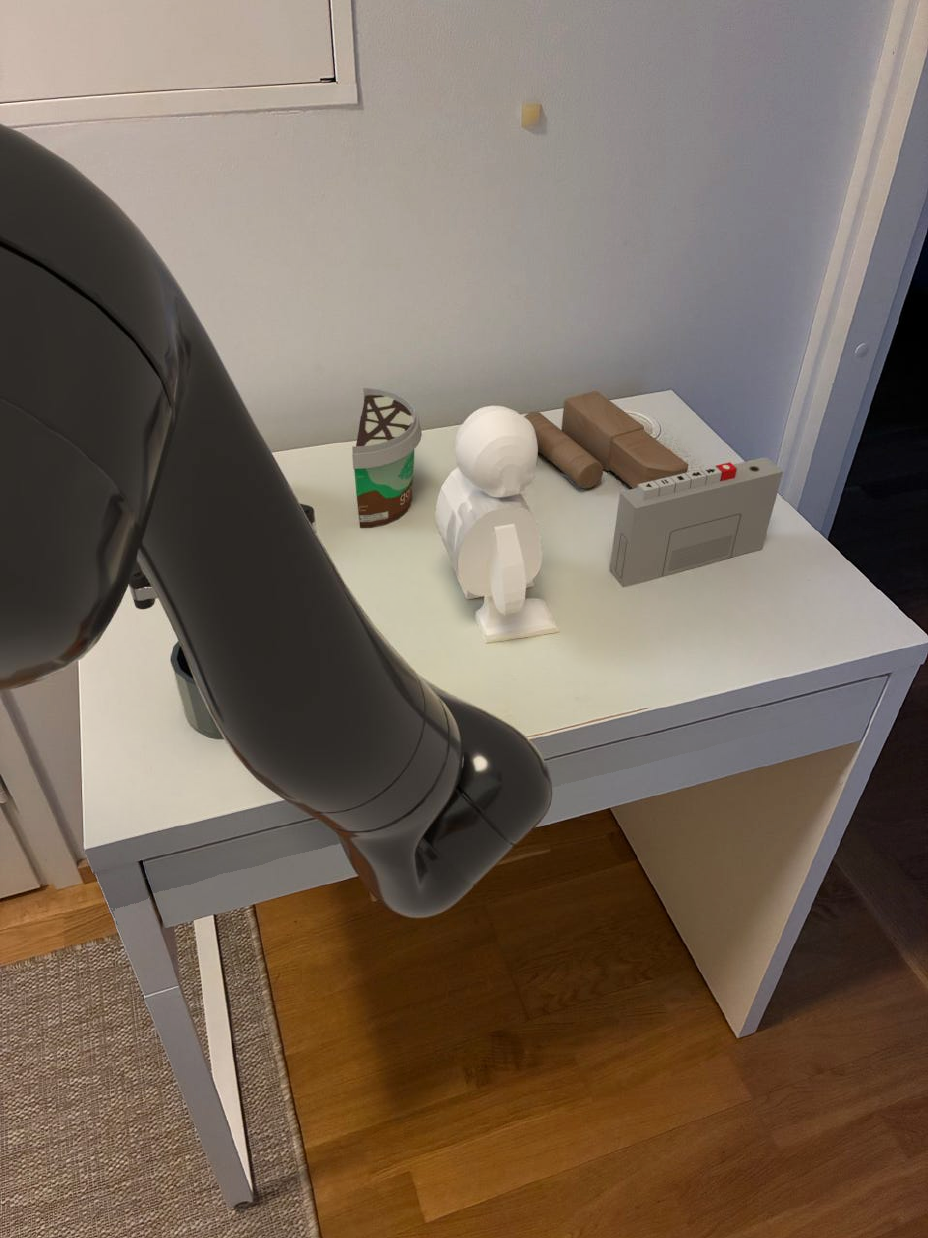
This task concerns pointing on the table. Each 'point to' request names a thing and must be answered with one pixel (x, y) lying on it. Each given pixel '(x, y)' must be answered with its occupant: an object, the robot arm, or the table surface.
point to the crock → (192, 696)
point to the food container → (385, 457)
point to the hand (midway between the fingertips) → (170, 490)
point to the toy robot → (495, 523)
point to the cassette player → (693, 519)
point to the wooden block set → (603, 444)
